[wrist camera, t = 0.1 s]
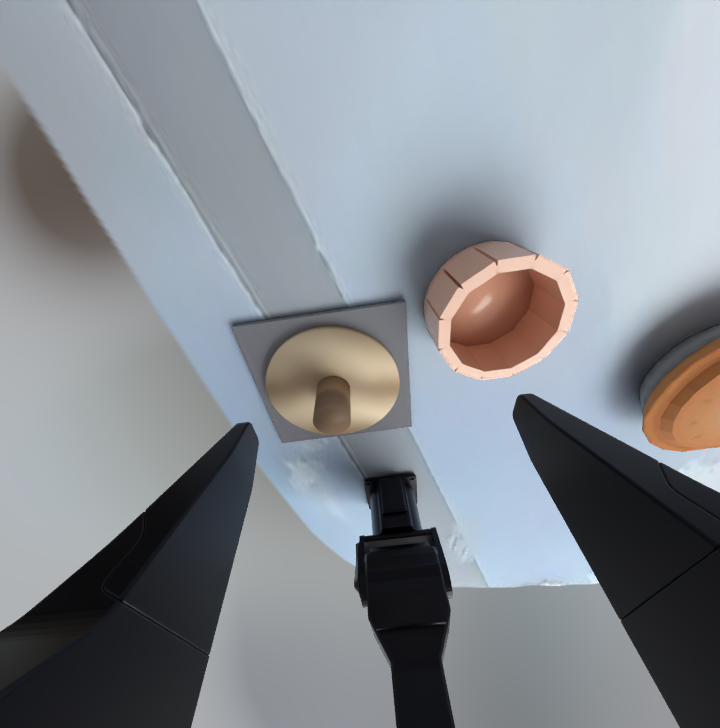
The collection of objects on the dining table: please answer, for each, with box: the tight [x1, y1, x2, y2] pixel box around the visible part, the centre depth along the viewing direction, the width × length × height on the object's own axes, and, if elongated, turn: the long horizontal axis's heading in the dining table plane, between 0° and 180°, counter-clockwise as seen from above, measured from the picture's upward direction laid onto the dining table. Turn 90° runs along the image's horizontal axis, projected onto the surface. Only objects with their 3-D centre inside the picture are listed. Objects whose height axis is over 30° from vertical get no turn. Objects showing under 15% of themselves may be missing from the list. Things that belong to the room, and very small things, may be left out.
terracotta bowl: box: [424, 241, 578, 380], centre depth 21 cm, size 9×9×4 cm
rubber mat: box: [231, 300, 412, 443], centre depth 27 cm, size 14×14×1 cm
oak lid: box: [266, 326, 400, 435], centre depth 24 cm, size 12×12×5 cm
